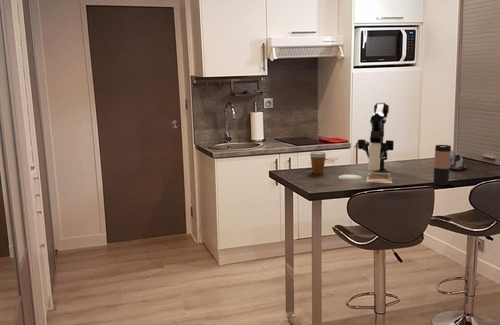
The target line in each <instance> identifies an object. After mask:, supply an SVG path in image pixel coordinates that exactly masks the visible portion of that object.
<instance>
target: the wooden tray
mask: <svg viewBox="0 0 500 325" xmlns="http://www.w3.org/2000/svg"><path fill="white" fill-rule="evenodd" d="M392 179H393V178H392V177H391V173H385V172H384V173H382V172H379V173H378V172H368V176H366V183H374V184H375V183H376V184H377V183H378V184H379V183H381V184H393V180H392Z"/></svg>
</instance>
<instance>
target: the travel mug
mask: <svg viewBox="0 0 500 325" xmlns="http://www.w3.org/2000/svg"><path fill="white" fill-rule="evenodd" d="M451 150H452V146H451V145H448V144H436V145H435V147H434V159H433V160H434V161H433V162H434V164H433V184H435V185H438V186H447V185H448V184H449V180H450V170H451V168H450V155H451Z"/></svg>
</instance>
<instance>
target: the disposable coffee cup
mask: <svg viewBox="0 0 500 325" xmlns="http://www.w3.org/2000/svg"><path fill="white" fill-rule="evenodd" d="M309 156H310V161H311V164H310V165H311V170H312V173H313V174H316V175H321V174H323V173H324V171H325V170H324V168H325V161H326V157H327V153H326V152H325V151H311V152H310V154H309Z"/></svg>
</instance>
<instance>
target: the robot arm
mask: <svg viewBox="0 0 500 325" xmlns="http://www.w3.org/2000/svg"><path fill="white" fill-rule="evenodd" d="M389 113H390V106H389V105H388V104H387V103H386V102H384V101H381V102H380V101H378V102H376V104H374V107H373V114H372V115H371V116H370V119H369V122H370V125H371V131H370V136H369V141H367V140H366V139H360V138H359V139H358V140H357V149H358V150H363V151H364V152H365V153H366V156H367V158H368V159H369V143H381V152H380V170H379V171H385V170H386V169H387V168H385V161H388V151H393V150H394V149H395V148H394V147H395V146H394V144H395V143H394V141H393V140H392V139H390V140H389V139H388V140H387V139H386V140H385V142H384V138H385V124H386V122H387V118H388V114H389Z"/></svg>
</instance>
